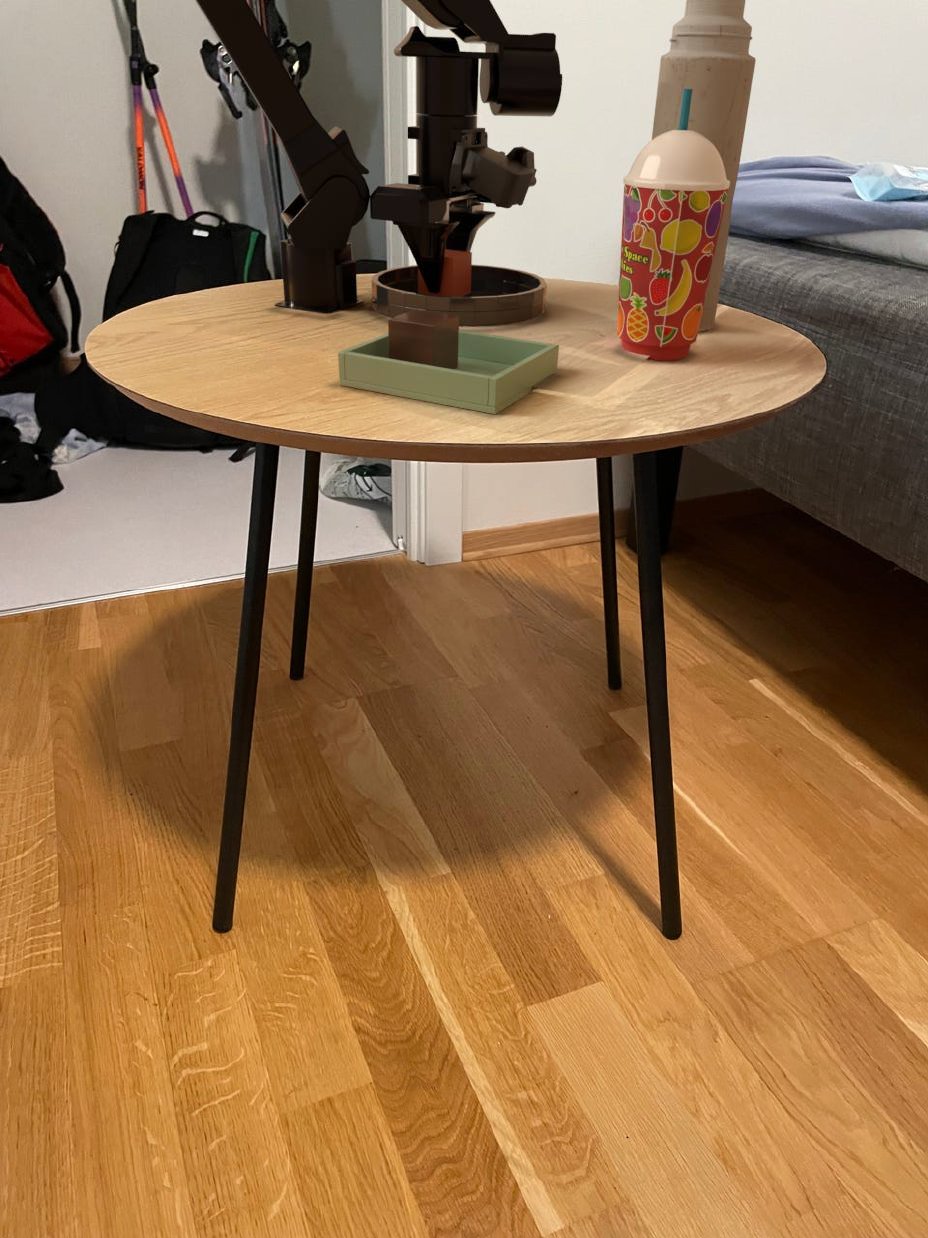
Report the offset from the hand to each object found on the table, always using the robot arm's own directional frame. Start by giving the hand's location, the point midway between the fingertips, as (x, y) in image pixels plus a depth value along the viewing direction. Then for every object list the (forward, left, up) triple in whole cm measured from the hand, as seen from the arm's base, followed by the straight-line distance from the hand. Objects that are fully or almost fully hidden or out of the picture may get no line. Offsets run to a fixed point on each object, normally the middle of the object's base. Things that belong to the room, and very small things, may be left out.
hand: (444, 288), depth 95 cm
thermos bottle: (+22, +6, -2) cm, 23 cm away
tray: (+13, -23, -2) cm, 27 cm away
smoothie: (+24, -6, -2) cm, 25 cm away
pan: (+2, -1, -2) cm, 3 cm away
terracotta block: (0, 0, 0) cm, 0 cm away
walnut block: (+11, -23, -1) cm, 26 cm away
